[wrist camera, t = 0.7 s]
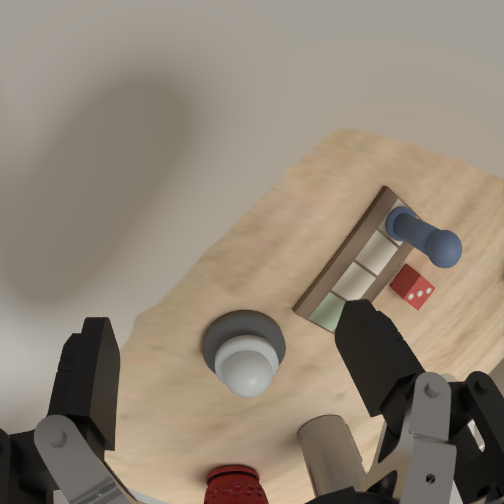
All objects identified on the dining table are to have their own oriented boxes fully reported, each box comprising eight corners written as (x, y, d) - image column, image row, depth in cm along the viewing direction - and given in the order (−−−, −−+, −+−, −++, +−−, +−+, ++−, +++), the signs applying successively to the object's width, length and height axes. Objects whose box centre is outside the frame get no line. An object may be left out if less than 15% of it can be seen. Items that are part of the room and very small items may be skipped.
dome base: (298, 331, 43) (301, 339, 41) (253, 381, 45) (255, 390, 44) (231, 296, 40) (232, 304, 38) (189, 353, 42) (188, 362, 40)
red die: (420, 276, 42) (435, 288, 38) (404, 297, 43) (418, 310, 39) (406, 263, 41) (421, 275, 37) (389, 285, 42) (403, 299, 38)
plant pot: (260, 484, 59) (267, 525, 48) (204, 485, 57) (205, 528, 46) (266, 459, 54) (275, 506, 43) (201, 460, 53) (202, 509, 41)
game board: (424, 224, 39) (428, 226, 38) (339, 334, 44) (341, 338, 43) (384, 185, 37) (388, 186, 36) (292, 309, 41) (294, 313, 40)
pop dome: (288, 349, 40) (298, 380, 34) (253, 387, 42) (258, 418, 36) (236, 324, 37) (240, 355, 32) (203, 366, 39) (203, 399, 34)
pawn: (418, 218, 38) (475, 249, 27) (399, 245, 39) (453, 283, 28) (398, 199, 36) (457, 226, 25) (379, 227, 37) (433, 263, 26)
